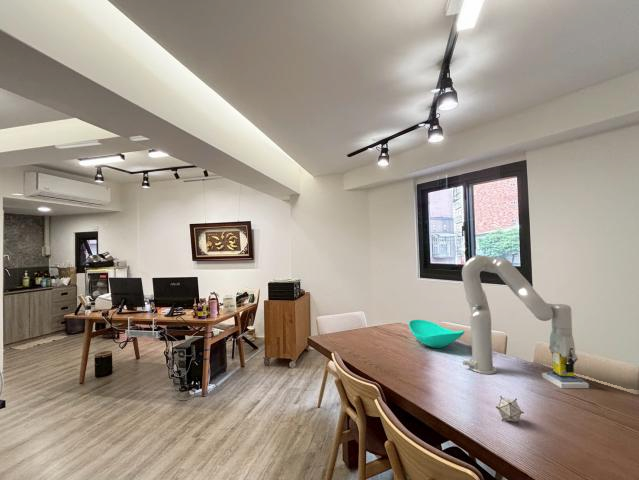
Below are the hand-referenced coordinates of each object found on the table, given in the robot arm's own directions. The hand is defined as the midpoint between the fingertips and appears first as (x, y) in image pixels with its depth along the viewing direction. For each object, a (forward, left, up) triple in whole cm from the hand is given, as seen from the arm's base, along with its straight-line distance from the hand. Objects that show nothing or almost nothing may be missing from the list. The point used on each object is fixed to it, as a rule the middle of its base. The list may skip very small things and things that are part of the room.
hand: (563, 368), depth 142 cm
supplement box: (0, 0, -3) cm, 3 cm away
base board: (0, 0, -6) cm, 6 cm away
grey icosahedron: (-45, -32, -6) cm, 56 cm away
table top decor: (-40, +56, -6) cm, 69 cm away
